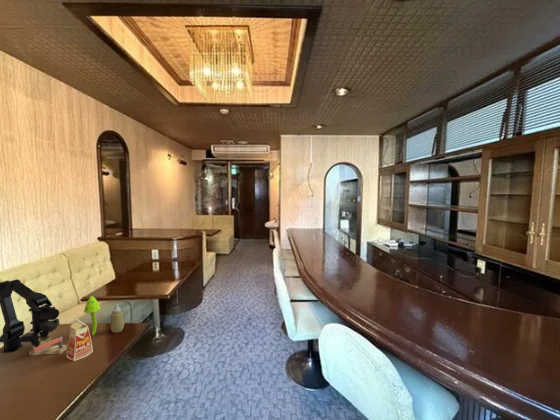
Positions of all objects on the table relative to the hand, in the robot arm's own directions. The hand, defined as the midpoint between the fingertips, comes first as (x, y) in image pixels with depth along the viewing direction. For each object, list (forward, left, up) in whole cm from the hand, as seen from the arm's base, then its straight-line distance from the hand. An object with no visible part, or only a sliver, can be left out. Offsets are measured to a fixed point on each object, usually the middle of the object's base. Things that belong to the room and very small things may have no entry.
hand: (40, 345), depth 147 cm
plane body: (+4, 0, -4) cm, 6 cm away
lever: (+8, -5, +2) cm, 10 cm away
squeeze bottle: (+31, +20, -4) cm, 37 cm away
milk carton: (+24, -5, -4) cm, 25 cm away
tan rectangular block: (+1, 0, 0) cm, 1 cm away
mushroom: (+18, +17, -4) cm, 25 cm away
